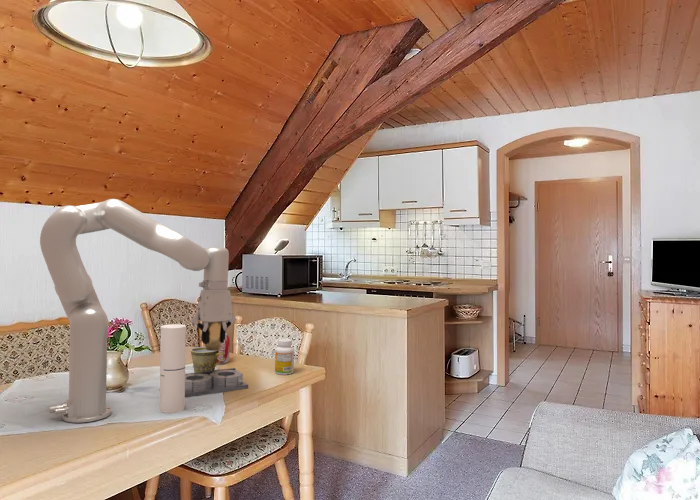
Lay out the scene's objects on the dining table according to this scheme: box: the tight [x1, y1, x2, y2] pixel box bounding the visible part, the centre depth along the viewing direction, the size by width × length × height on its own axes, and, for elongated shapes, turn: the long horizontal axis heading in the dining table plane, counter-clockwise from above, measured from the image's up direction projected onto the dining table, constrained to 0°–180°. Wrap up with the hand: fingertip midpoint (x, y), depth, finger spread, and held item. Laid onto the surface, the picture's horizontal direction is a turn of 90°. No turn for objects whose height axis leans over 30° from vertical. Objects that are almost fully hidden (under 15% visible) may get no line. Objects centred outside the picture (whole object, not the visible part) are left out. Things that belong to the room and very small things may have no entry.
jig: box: [185, 367, 249, 398], centre depth 175 cm, size 22×13×4 cm, turn 124°
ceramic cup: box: [190, 346, 225, 373], centre depth 190 cm, size 13×10×10 cm
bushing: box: [205, 322, 221, 351], centre depth 163 cm, size 5×5×10 cm
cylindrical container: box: [158, 323, 187, 414], centre depth 152 cm, size 7×7×25 cm
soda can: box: [216, 332, 231, 365], centre depth 211 cm, size 7×7×12 cm
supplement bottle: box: [274, 338, 295, 376], centre depth 197 cm, size 7×7×13 cm
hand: (213, 342), depth 163 cm, fingers closed on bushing, 4 cm apart
